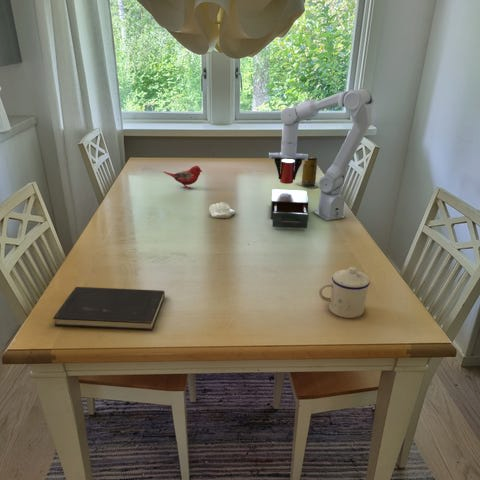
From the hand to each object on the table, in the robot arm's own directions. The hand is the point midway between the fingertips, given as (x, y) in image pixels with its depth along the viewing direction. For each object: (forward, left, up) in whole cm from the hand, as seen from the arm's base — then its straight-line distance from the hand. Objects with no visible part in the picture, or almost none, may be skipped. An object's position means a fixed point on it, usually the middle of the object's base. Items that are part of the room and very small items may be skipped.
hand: (286, 178), depth 184 cm
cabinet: (-9, +3, -10) cm, 14 cm away
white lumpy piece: (-1, +27, -11) cm, 29 cm away
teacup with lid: (-77, +26, -11) cm, 82 cm away
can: (0, 0, -1) cm, 1 cm away
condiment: (+20, -24, -11) cm, 33 cm away
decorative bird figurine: (+35, +30, -11) cm, 48 cm away
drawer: (-20, +9, -10) cm, 24 cm away
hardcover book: (-56, +79, -11) cm, 97 cm away
